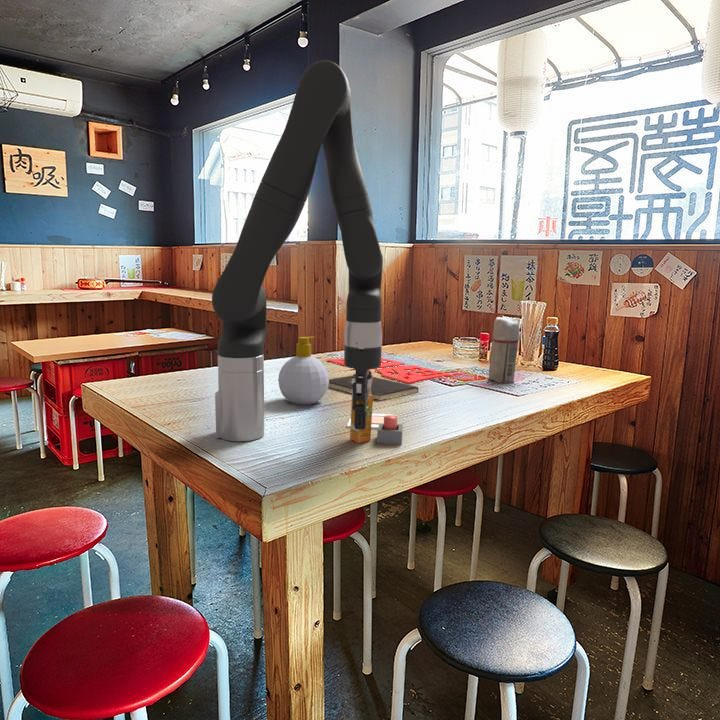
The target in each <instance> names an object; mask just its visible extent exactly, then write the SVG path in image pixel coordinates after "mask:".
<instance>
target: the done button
mask: <svg viewBox="0 0 720 720" xmlns="http://www.w3.org/2000/svg"><path fill="white" fill-rule="evenodd" d="M397 424H398V416H397V415H395V414H392V415H386V416H384V429H386V430H397Z"/></svg>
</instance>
